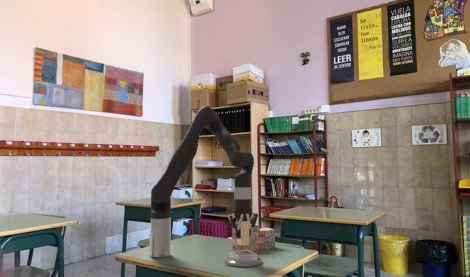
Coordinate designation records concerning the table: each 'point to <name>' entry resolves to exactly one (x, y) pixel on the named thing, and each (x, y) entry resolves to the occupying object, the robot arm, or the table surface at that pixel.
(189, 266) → the table surface
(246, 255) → the gray round dish
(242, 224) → the wooden block
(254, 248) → the stack of blocks
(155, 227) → the robot arm
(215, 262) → the table surface
